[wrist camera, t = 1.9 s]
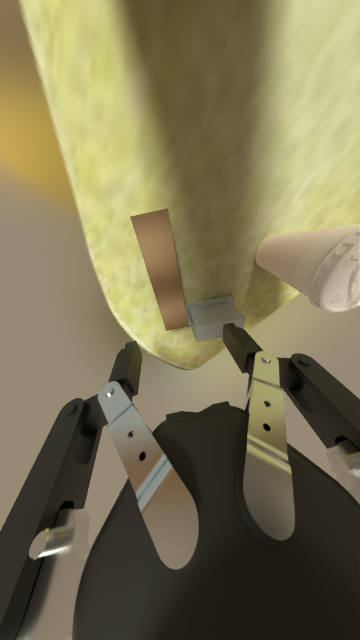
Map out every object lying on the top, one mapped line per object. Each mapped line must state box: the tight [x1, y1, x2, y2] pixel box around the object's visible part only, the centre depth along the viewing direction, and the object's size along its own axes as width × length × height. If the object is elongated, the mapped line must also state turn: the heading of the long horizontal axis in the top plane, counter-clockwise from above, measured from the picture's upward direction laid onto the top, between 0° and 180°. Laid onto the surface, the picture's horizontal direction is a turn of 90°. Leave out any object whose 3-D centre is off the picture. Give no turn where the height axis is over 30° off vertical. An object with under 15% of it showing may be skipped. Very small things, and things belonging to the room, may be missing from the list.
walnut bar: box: [130, 209, 189, 331], centre depth 15 cm, size 12×3×4 cm, turn 10°
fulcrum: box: [185, 295, 245, 341], centre depth 18 cm, size 4×7×5 cm, turn 96°
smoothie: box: [255, 223, 360, 312], centre depth 11 cm, size 6×6×14 cm
